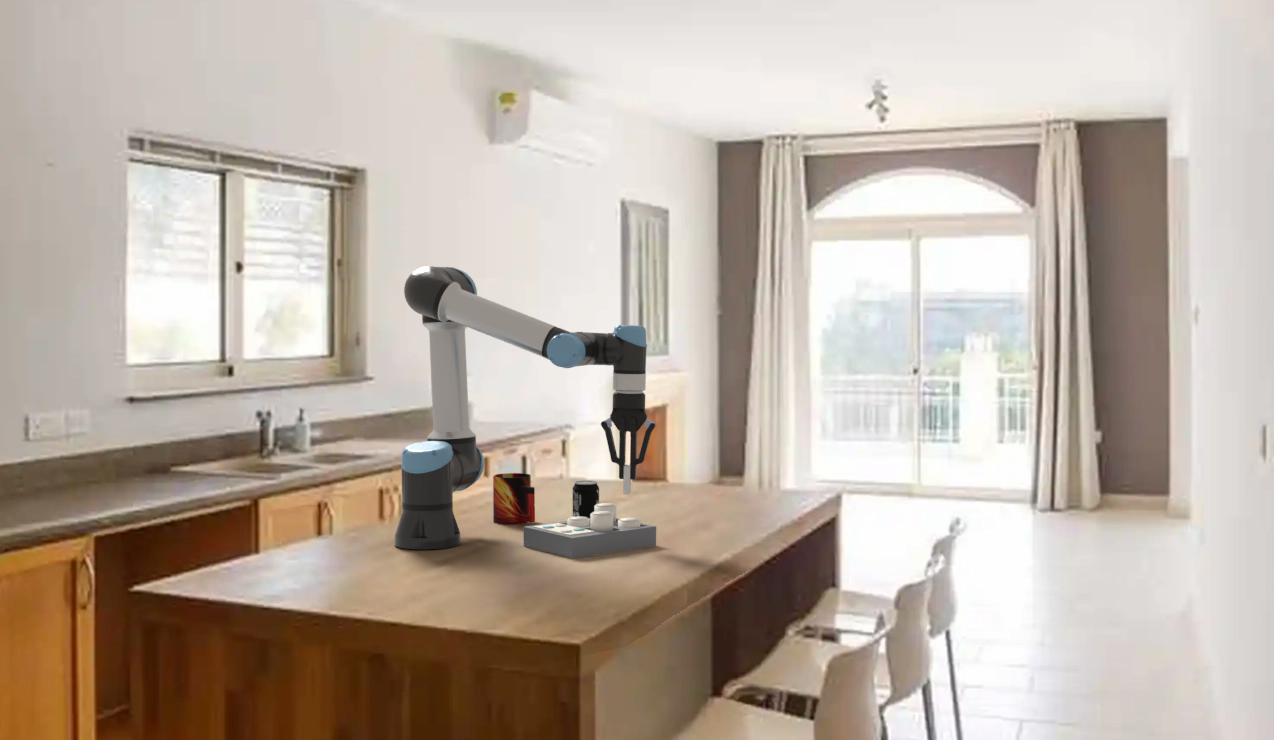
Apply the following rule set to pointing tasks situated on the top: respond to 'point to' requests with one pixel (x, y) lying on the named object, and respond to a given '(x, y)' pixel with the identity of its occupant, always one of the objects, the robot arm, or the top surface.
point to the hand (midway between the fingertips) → (627, 493)
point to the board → (587, 539)
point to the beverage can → (585, 498)
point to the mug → (513, 499)
